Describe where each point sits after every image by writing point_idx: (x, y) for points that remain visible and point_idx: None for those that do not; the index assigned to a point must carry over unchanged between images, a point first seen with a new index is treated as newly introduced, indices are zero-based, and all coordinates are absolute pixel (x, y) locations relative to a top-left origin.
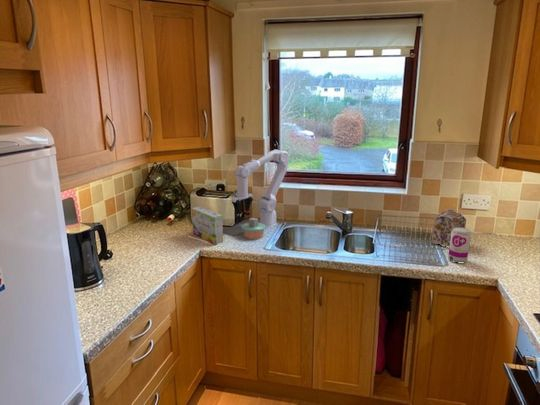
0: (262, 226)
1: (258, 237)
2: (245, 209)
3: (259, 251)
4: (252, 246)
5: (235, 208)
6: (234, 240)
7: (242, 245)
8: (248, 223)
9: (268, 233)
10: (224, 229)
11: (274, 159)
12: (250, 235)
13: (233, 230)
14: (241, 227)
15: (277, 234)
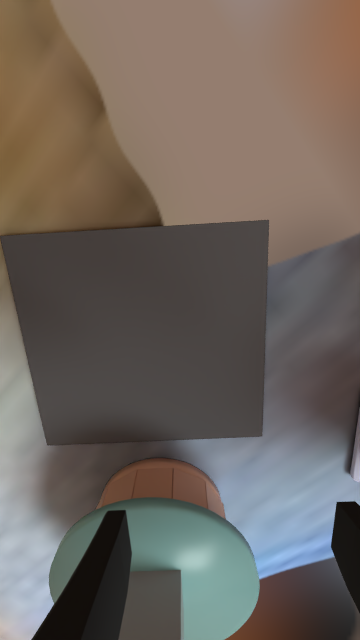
0: (197, 632)
1: None
2: (348, 521)
3: (28, 633)
4: (44, 584)
5: (58, 624)
6: (21, 473)
7: (10, 547)
8: (177, 529)
9: (269, 528)
10: (96, 279)
11: None
12: None
13: (135, 351)
14: (61, 543)
15: (287, 567)
